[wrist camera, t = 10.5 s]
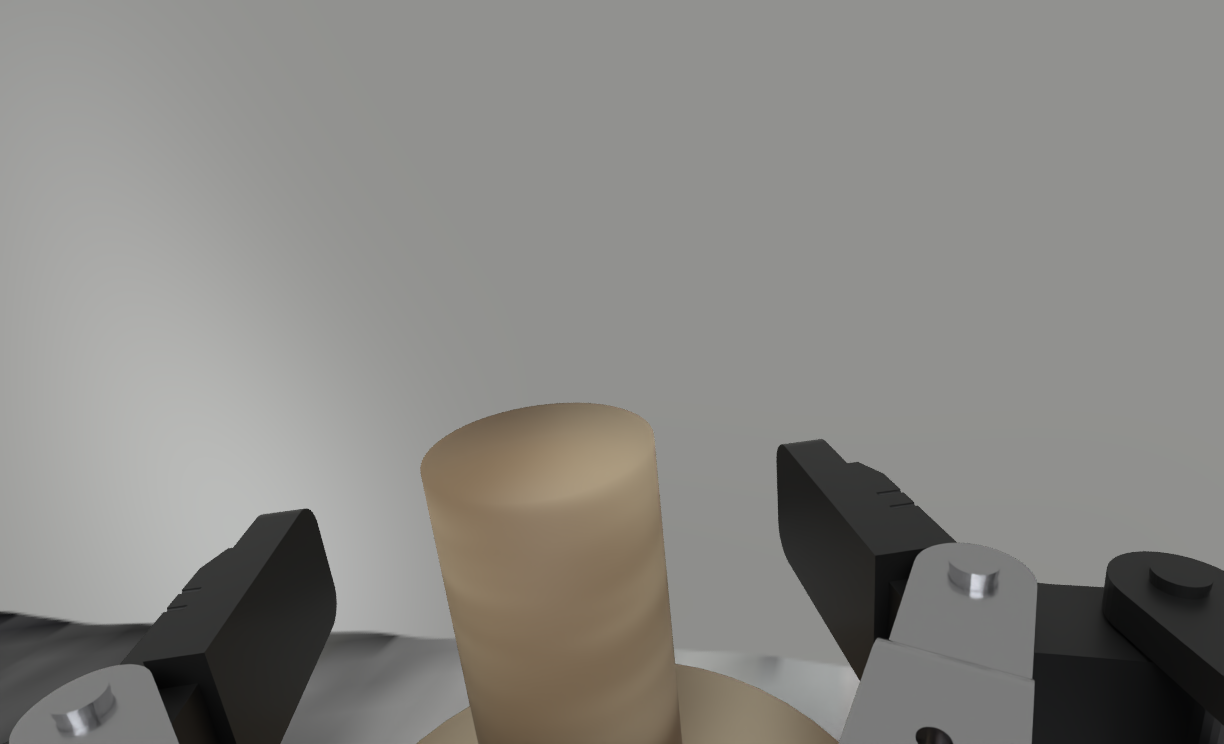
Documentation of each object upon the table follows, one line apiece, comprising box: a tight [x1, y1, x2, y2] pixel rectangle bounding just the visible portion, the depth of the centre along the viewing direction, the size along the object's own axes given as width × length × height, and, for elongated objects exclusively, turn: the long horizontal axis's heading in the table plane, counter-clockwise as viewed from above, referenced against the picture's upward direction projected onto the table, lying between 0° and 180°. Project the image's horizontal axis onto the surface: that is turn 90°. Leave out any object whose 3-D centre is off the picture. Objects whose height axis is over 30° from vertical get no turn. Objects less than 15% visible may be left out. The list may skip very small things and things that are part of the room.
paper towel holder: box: [417, 403, 839, 744], centre depth 12 cm, size 12×12×10 cm
